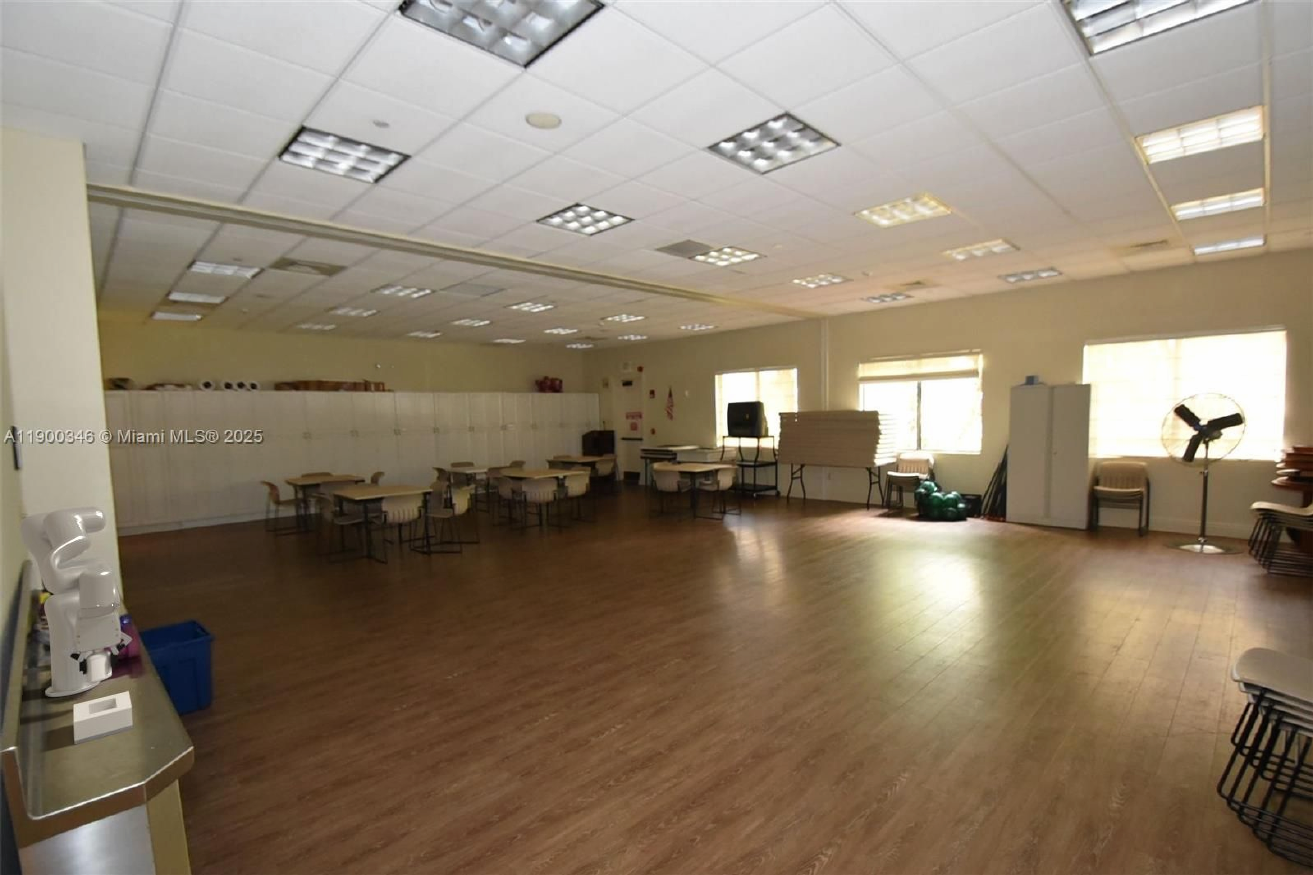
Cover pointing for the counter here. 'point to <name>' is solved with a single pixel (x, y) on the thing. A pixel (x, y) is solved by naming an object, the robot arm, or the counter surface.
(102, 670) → the eye dropper bottle
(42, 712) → the counter surface
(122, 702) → the keyed holder
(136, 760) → the counter surface
